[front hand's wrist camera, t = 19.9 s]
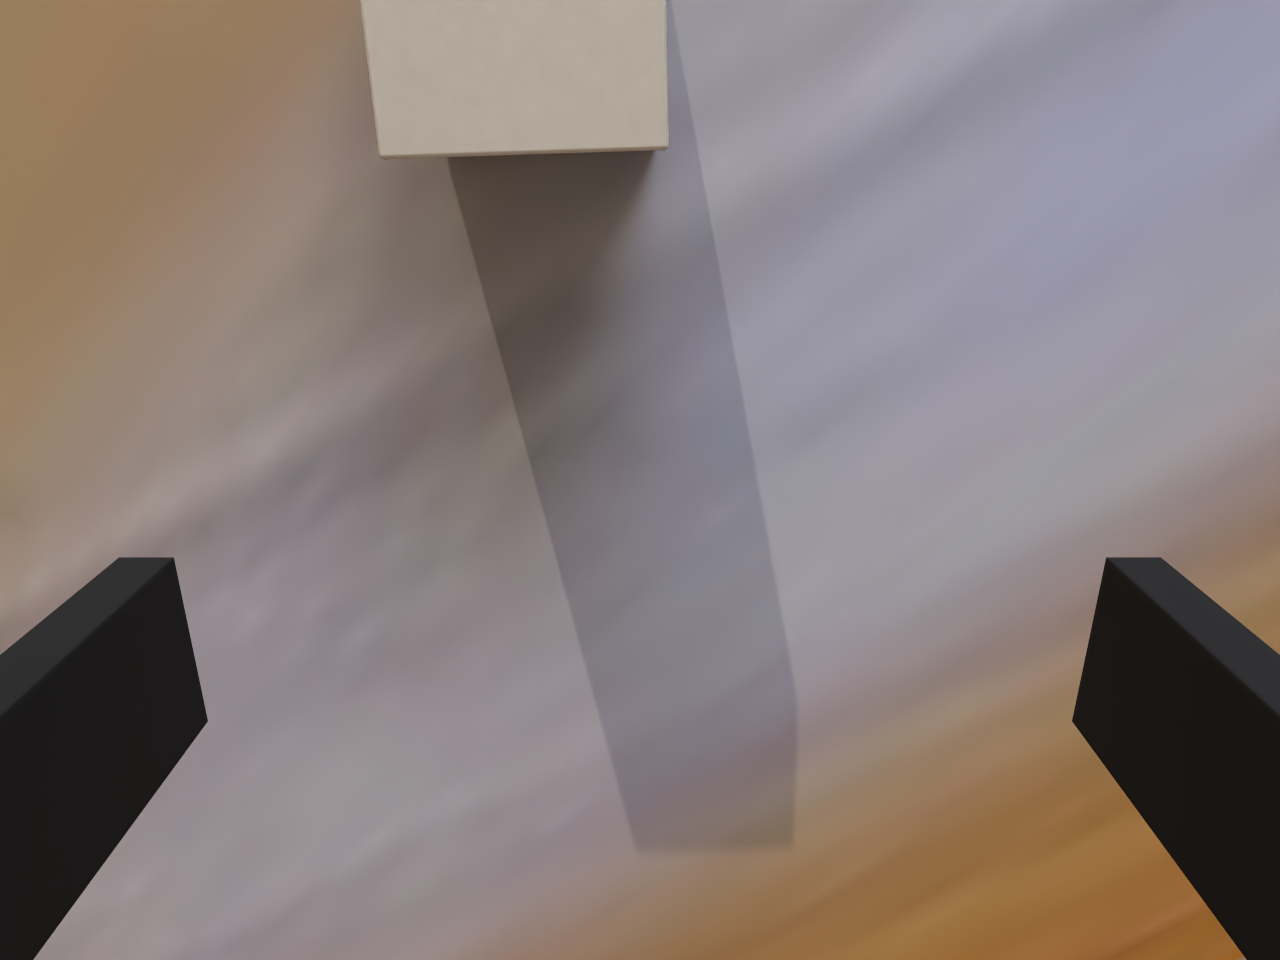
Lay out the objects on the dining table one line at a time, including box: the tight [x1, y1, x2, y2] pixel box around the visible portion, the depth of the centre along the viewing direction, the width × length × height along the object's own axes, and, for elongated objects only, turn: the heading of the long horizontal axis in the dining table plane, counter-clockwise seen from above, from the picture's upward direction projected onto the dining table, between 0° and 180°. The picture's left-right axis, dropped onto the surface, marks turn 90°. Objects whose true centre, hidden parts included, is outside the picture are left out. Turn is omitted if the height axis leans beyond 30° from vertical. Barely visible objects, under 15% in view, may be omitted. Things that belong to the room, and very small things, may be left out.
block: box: [360, 0, 669, 159], centre depth 22 cm, size 6×6×8 cm
